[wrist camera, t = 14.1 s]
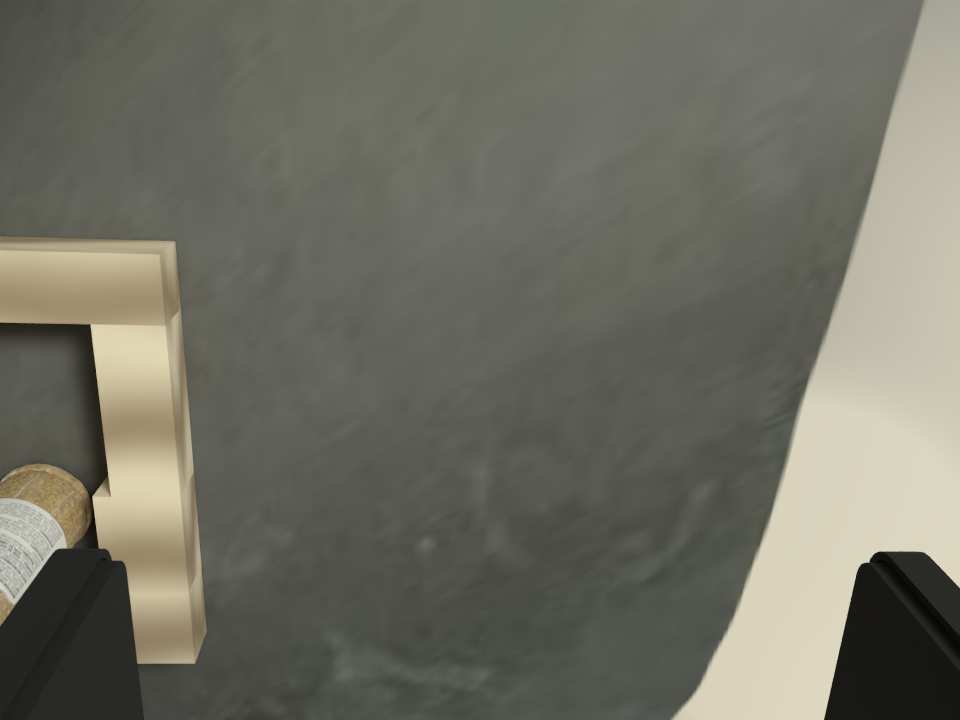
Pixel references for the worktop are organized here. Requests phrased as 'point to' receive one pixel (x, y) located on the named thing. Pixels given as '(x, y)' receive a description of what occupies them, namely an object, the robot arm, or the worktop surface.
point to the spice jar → (36, 524)
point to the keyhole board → (129, 416)
